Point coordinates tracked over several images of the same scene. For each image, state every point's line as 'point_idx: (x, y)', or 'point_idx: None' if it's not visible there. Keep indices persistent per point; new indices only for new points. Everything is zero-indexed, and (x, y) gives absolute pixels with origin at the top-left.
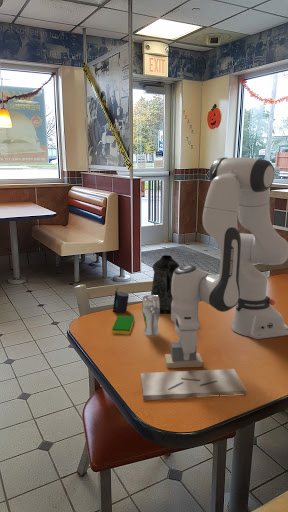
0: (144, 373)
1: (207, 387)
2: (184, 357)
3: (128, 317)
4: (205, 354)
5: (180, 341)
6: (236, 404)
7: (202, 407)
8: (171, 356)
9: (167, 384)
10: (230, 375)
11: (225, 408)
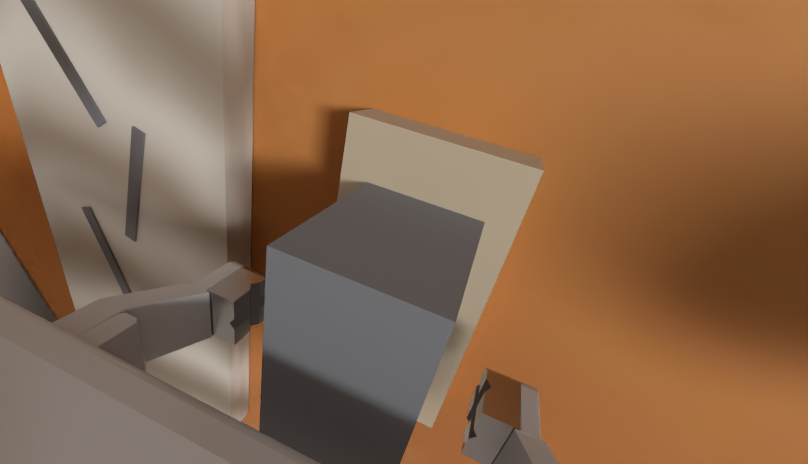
0: None
1: (80, 234)
2: (216, 275)
3: None
4: (461, 445)
5: (48, 404)
6: (58, 277)
7: (8, 137)
8: (435, 210)
9: None
10: (181, 385)
11: (28, 226)
